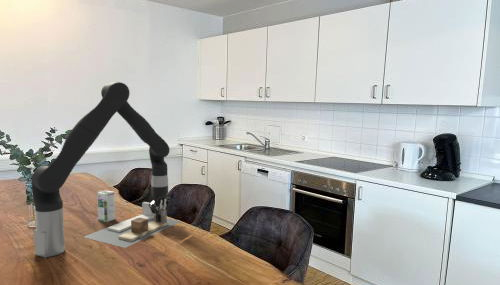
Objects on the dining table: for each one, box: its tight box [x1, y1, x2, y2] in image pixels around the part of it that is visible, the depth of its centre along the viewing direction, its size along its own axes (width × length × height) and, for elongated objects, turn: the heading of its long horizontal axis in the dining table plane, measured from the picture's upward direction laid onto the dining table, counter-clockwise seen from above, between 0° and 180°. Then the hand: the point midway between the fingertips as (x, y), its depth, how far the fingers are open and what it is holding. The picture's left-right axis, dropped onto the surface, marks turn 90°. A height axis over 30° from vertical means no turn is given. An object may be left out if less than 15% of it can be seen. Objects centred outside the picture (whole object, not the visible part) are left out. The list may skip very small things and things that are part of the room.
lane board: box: [83, 214, 182, 249], centre depth 167 cm, size 36×24×1 cm, turn 154°
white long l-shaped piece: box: [108, 201, 154, 232], centre depth 173 cm, size 24×7×7 cm, turn 154°
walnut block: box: [131, 217, 148, 234], centre depth 160 cm, size 5×5×5 cm
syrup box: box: [96, 190, 116, 223], centre depth 178 cm, size 6×6×14 cm
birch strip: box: [118, 209, 168, 242], centre depth 163 cm, size 24×7×7 cm, turn 153°
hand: (160, 220), depth 173 cm, fingers closed on birch strip, 2 cm apart
